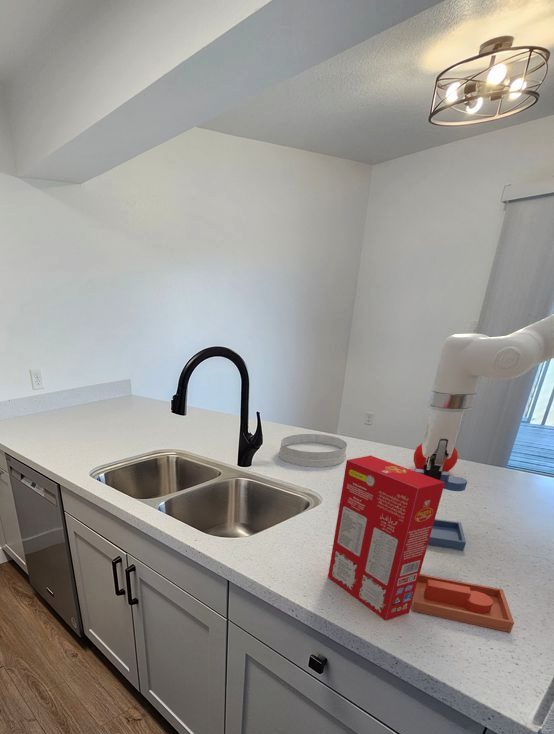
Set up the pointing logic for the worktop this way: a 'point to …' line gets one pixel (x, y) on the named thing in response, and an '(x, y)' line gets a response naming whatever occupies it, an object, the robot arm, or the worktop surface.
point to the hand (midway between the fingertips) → (428, 483)
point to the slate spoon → (450, 481)
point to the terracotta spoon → (458, 596)
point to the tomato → (421, 460)
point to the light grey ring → (313, 450)
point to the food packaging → (383, 533)
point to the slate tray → (447, 535)
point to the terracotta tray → (494, 619)
